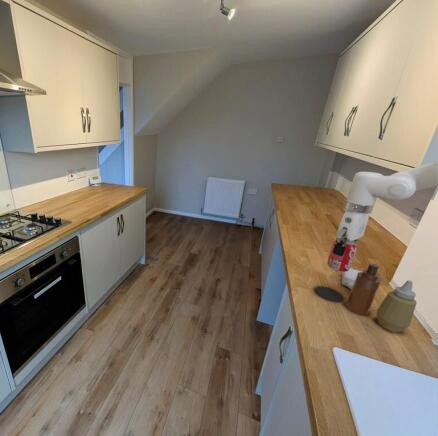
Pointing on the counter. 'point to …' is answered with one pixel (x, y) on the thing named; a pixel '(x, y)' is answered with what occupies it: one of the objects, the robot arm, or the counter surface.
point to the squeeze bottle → (397, 308)
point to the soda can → (342, 257)
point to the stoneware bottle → (364, 290)
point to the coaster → (329, 294)
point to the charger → (349, 277)
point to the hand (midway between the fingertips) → (342, 252)
